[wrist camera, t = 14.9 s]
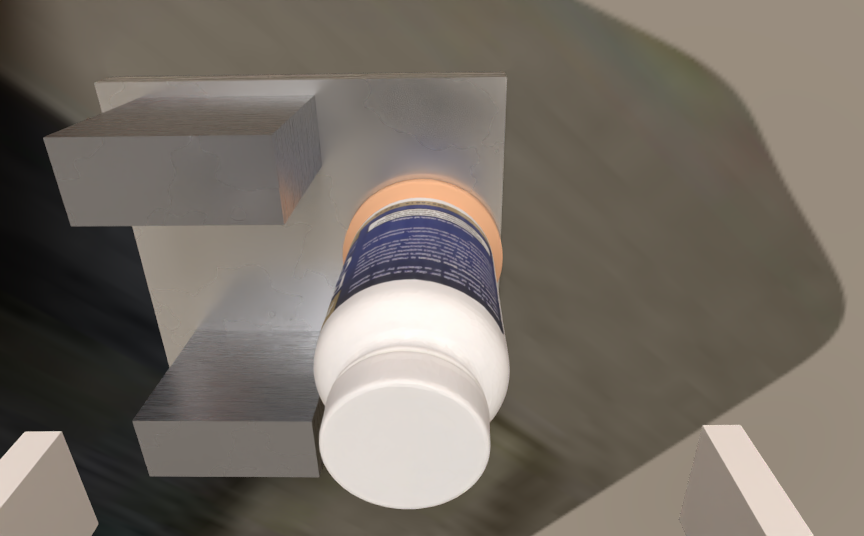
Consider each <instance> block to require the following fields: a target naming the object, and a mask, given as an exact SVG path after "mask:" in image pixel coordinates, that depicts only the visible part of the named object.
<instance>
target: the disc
mask: <svg viewBox="0 0 864 536" xmlns="http://www.w3.org/2000/svg"><path fill="white" fill-rule="evenodd" d="M409 198H432V199H438V200H442V201H445V202H448V203H450V204H452V205H454V206H456V207H458V208H460V209H462V210H463V211H465V212H466V213H467V214H468V215H470V216H471V217H472V218H473V219H474V220H475V221H476V222H477V224H478V225H479V226H480V227H481V229H482V230H483V232H484V233H485V235H486V237H487V239H488V241H489V244H490V246H491V250H492V254H493V259H494V265H495V272H496V279H497V283H498V280H499V277H500V274H501V269H502V260H503V255H502V245H501V240H500V236H499V232H498V229H497V226H496V224H495V222H494V220H493V218H492V216H491V215H490V213H489V212H488V210H487V209H486V208H485V207H484V205H483V204H482V203H481V202H480V201H479V200H478V199H476V198H475V197H474V196H473V195H471V194H470V193H469V192H467V191H465V190H463V189H462V188H460V187H458V186H455V185H453V184H450V183H447V182H443V181H440V180H433V179H410V180H404V181H400V182H396V183H394V184H391V185H388V186H386V187H384V188H382V189H381V190H379V191H377V192H376V193H374V194H373V195H372V196H370V197H369V198H368V199H367V200H366V201H365V202H364V203H363V204H362V205H361V206H360V208H359V209H358V210H357V211H356V213H355V215H354V217H353V218H352V220H351V222H350V225H349V228H348V230H347V233H346V235H345V240H344V244H343V265H344V263H345V260H346V257H347V254H348V251H349V248H350V246H351V244H352V242H353V239H354V237H355V235H356V233H357V232H358V230H359V229H360V227H361V226H362V225H363V223H364V222H365V221H366V220H367V219H368V218H369V217H370V216H371V215H373V214H374V213H375V212H377V211H378V210H380V209H381V208H383V207H385V206H387V205H389V204H391V203H394V202H396V201H399V200H404V199H409Z"/></svg>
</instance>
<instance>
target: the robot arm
mask: <svg viewBox="0 0 864 536" xmlns="http://www.w3.org/2000/svg"><path fill="white" fill-rule="evenodd" d="M679 520H680V523H681V525H682V528H683V530H684V532H685V535H686V536H814V535H813V534H812V533H811V531H810V529H809V528H808V526H807V525H806V523H805V522H804V520H803V519H802V517H801V516H800V514H799V513H798V511H797V510H796V509H795V507H794V505H793V504H792V502H791V501H790V499H789V498H788V496H787V495H786V493H785V492H784V490H783V488H782V487H781V485H780V484H779V483H778V481H777V479H776V478H775V476H774V475H773V474H772V472H771V470H770V469H769V467H768V466H767V464H766V463H765V461H764V460H763V459H762V457H761V455H760V454H759V452H758V451H757V449H756V448H755V446H754V445H753V443H752V442H751V440H750V439H749V437H748V436H747V434H746V433H745V431H744V429H743V428H742V427H741V425H703V426H702V430H701V434H700V438H699V442H698V446H697V450H696V454H695V458H694V462H693V466H692V469H691V474H690V477H689V481H688V486H687V489H686V494H685V497H684V501H683V505H682V510H681V513H680V517H679ZM97 526H98V521H97V519H96V516H95V514H94V511H93V509H92V506H91V504H90V501H89V499H88V496H87V494H86V491H85V489H84V486H83V484H82V481H81V479H80V476H79V474H78V471H77V469H76V466H75V464H74V461H73V459H72V456H71V454H70V451H69V449H68V446H67V444H66V441H65V439H64V436H63V434H62V431H51V432H24V433H23V434H22V435H21V437H20V438H19V439H18V440H17V441H16V442H15V443H14V445H13V446H12V447H11V448H10V449H9V450H8V451H7V453H6V454H5V455H4V456H3V457H2V458H1V459H0V536H92V534H93V532H94V531H95V529H96V527H97Z"/></svg>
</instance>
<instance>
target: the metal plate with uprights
mask: <svg viewBox="0 0 864 536" xmlns="http://www.w3.org/2000/svg"><path fill="white" fill-rule="evenodd" d="M94 84H95V88H96V91H97V95H98V99H99V103H100V106H101V110H102V113H101V114H99V115H96V116H94V117H91V118H89V119H87V120H84V121H82V122H79V123H77V124H74V125H72V126H70V127H67V128H65V129H62V130H60V131H58V132H55V133H53V134H50V135H48V136H45V137H43V139H44V142H45V145H46V149H47V152H48V155H49V158H50V161H51V164H52V168H53V171H54V174H55V177H56V180H57V183H58V187H59V190H60V193H61V196H62V199H63V202H64V206H65V209H66V212H67V215H68V218H69V221H70V225H71V226H132V227H133V231H134V235H135V239H136V242H137V246H138V250H139V254H140V257H141V261H142V265H143V269H144V273H145V276H146V280H147V284H148V288H149V291H150V295H151V299H152V303H153V307H154V310H155V314H156V318H157V322H158V325H159V329H160V333H161V337H162V341H163V344H164V348H165V352H166V356H167V359H168V363H169V367H170V368H169V369H168V371H167V372H166V374H165V375H164V377H163V378H162V379H161V381H160V382H159V384H158V385H157V387H156V388H155V389H154V391H153V392H152V394H151V395H150V397H149V398H148V399H147V401H146V402H145V404H144V405H143V407H142V408H141V409H140V411H139V412H138V414H137V415H136V417H135V418H134V419H133V424H134V428H135V431H136V434H137V437H138V440H139V444H140V447H141V450H142V453H143V456H144V459H145V463H146V466H147V469H148V472H149V475H150V476H195V477H320V473H321V469H322V465H323V460H322V457H321V453H320V449H319V431H320V427H321V423H322V419H323V415H324V410H325V405H324V404H323V402H322V400H321V398H320V396H319V393H318V391H317V387H316V383H315V378H314V370H313V366H314V354H315V349H316V345H317V341H318V338H319V334H320V331H321V328H322V325H323V322H324V320H325V317H326V314H327V311H328V308H329V305H330V302H331V299H332V296H333V293H334V290H335V287H336V284H337V281H338V279H339V276H340V274H341V271H342V268H343V244H344V240H345V235H346V233H347V230H348V228H349V225H350V222H351V220H352V218H353V217H354V215H355V213H356V211H357V210H358V209H359V208H360V206H361V205H362V204H363V203H364V202H365V201H366V200H367V199H368V198H369V197H370V196H372V195H373V194H374V193H376V192H377V191H379V190H381V189H382V188H384V187H386V186H388V185H391V184H394V183H396V182H400V181H404V180H410V179H433V180H440V181H443V182H447V183H450V184H453V185H455V186H458V187H460V188H462V189H463V190H465V191H467V192H469V193H470V194H471V195H473V196H474V197H475V198H476V199H478V200H479V201H480V202H481V203H482V204H483V205H484V207H485V208H486V209H487V210H488V212H489V213H490V215H491V216H492V218H493V220H494V222H495V224H496V226H497V229H498V232H499V236H500V240H501V218H502V192H503V166H504V140H505V114H506V88H507V76H506V74H505V72H504V71H497V72H425V73H352V74H280V75H208V76H136V77H110V78H107V79H104V80H100V81H97V82H94ZM497 286H498V292H499V280H498V283H497Z"/></svg>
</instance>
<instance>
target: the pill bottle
mask: <svg viewBox="0 0 864 536" xmlns="http://www.w3.org/2000/svg"><path fill="white" fill-rule="evenodd" d="M313 370H314V378H315V383H316V387H317V391H318V393H319V396H320V398H321V400H322V402H323V404H324V405H325V410H324V415H323V419H322V423H321V427H320V431H319V449H320V453H321V457H322V460H323V463H324V465H325V467H326V468H327V470H328V471H329V473H330V474H331V476H332V477H333V478H334V479H335V480H336V481H337V482H338V483H339V484H340V485H341V486H342V487H343V488H344V489H346V490H347V491H349V492H350V493H352V494H353V495H355V496H357V497H359V498H361V499H363V500H365V501H368V502H370V503H373V504H376V505H380V506H384V507H389V508H396V509H420V508H427V507H432V506H436V505H439V504H442V503H445V502H448V501H450V500H452V499H454V498H457V497H458V496H460V495H461V494H463V493H464V492H466V491H467V490H468V489H469V488H470V487H472V486H473V485H474V484H475V483H476V482H477V480H478V479H479V478H480V476H481V475H482V473H483V471H484V470H485V468H486V465H487V462H488V459H489V455H490V425H489V423H490V421H491V420H492V419H493V418H494V416H495V415H496V414H497V412H498V410H499V408H500V407H501V405H502V403H503V401H504V398H505V395H506V393H507V388H508V383H509V372H510V368H509V357H508V350H507V344H506V338H505V332H504V326H503V320H502V313H501V306H500V299H499V292H498V286H497V279H496V272H495V265H494V259H493V254H492V250H491V246H490V244H489V241H488V239H487V237H486V235H485V233H484V232H483V230H482V229H481V227H480V226H479V225H478V224H477V222H476V221H475V220H474V219H473V218H472V217H471V216H470V215H468V214H467V213H466V212H465V211H463V210H462V209H460V208H458V207H456V206H454V205H452V204H450V203H448V202H445V201H442V200H438V199H432V198H409V199H404V200H399V201H396V202H394V203H391V204H389V205H387V206H385V207H383V208H381V209H380V210H378V211H377V212H375V213H374V214H373V215H371V216H370V217H369V218H368V219H367V220H366V221H365V222H364V223H363V225H362V226H361V227H360V229H359V230H358V232H357V233H356V235H355V237H354V239H353V242H352V244H351V246H350V248H349V251H348V254H347V257H346V260H345V263H344V265H343V268H342V271H341V274H340V276H339V279H338V281H337V284H336V287H335V290H334V293H333V296H332V299H331V302H330V305H329V308H328V311H327V314H326V317H325V320H324V322H323V325H322V328H321V331H320V334H319V338H318V341H317V345H316V349H315V354H314V366H313Z"/></svg>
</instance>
